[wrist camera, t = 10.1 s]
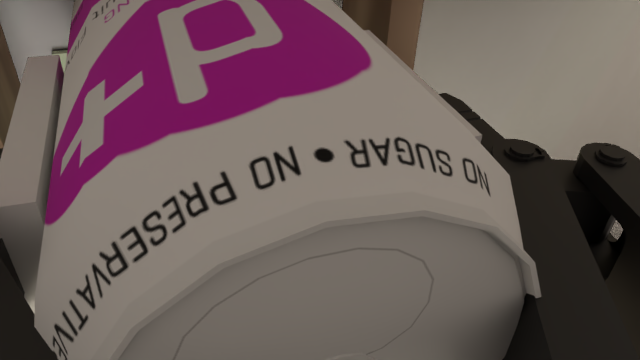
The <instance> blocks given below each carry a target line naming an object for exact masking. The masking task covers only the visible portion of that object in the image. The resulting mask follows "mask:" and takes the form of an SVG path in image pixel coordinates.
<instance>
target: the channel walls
mask: <svg viewBox="0 0 640 360" xmlns="http://www.w3.org/2000/svg"><path fill="white" fill-rule="evenodd" d="M423 2H424V0H343V9H342V10H343V11H344V12H345V13H346V14H347V15H348V16H349V17H350V18H351V19H352V20H353V21H354V22H355V23H356V24H357V25H358V26H360V27H361V28H362V29H363V30H370V31H371V32H372V33H373V34H374V35H375V36H376V37H377V38H378V39H379V40H380V41H382V42H383V43H384V44H385V45H386V46H387V47H388V48H389V49H390V50H391V51H392V52H393V53H394V54H396V55H397V56H398V57H399V58H400V59H401V60H402V61H403V62H404V63H405V64H406V65H407V66H408V67H410V68H411V69H412V70H413V67H414V61H415V54H416V48H417V41H418V35H419V28H420V22H421V15H422V9H423ZM19 89H20V82H19V79H18V76H17V73H16V70H15V67H14V64H13V61H12V58H11V55H10V52H9V49H8V46H7V42H6V39H5V36H4V33H3V30H2V27H1V24H0V149H1V148H4V144H5V140H6V137H7V133H8V129H9V126H10V122H11V118H12V115H13V111H14V107H15V103H16V100H17V96H18V92H19Z"/></svg>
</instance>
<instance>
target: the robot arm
mask: <svg viewBox="0 0 640 360" xmlns="http://www.w3.org/2000/svg"><path fill="white" fill-rule="evenodd" d="M364 31H365V32H366V33H367V34H368V35H369V36H370V37H371V38H372V39H373V40H374V41H375V42H376V43H377V44H378V45H380V46H381V47H382V48H383V49H384V50H385V51H386V52H387V53H388V54H389V55H390V56H391V57H392V58H393V59H394V60H395V61H396V62H397V63H399V64H400V65H401V66H402V67H403V68H404V69H405V70H406V71H407V72H408V73H409V74H410V75H411V76H412V77H413V78H414V79H415V80H416V81H417V82H419V83H420V84H421V85H422V86H423V87H424V88H425V89H426V90H427V91H428V92H429V93H430V94H431V95H432V96H433V97H434V98H435V99H436V100H437V101H439V102H440V103H441V104H442V105H443V106H444V107H445V108H446V109H447V110H448V111H449V112H450V113H451V114H452V115H453V116H454V117H455V118H456V119H458V120H459V121H460V122H461V123H462V124H463V125H464V126H465V127H466V128H467V129H468V130H469V131H470V132H471V133H472V135H473V136H474V137H475V138H476V139H477V140H478V141H479V142H480V143H481V144H482V145H483V147H484V148H485V149H486V150H487V151H488V152H489V153H490V154H491V155H492V156H493V158H494V159H495V160H496V161H497V162H498V163H499V164H500V165H501V166H502V167H503V169H504V170H505V171H506V172H507V173H508V174H509V175H510V180H511V185H512V190H513V195H514V200H515V205H516V210H517V215H518V220H519V225H520V231H521V237H522V243H523V249H524V251H525V252H526V253H527V254H528V255H529V256H530V257H531V258H532V259H533V261H534V262H535V264H536V270H537V275H538V281H539V286H540V292H541V297H539V298H535V296H534V295H531V294H528V293H526V295H525V297H524V305H523V308H522V311H521V315H520V318H519V322H518V325H517V327H516V330H515V332H514V335H513V337H512V340H511V342H510V345H509V348H508V350H507V353H506V355H505V357H504V358H503V359H502V360H640V160H639V159H638V158H637V157H636V156H634V155H633V154H632V153H630V152H629V151H627V150H624V149H622V148H620V147H619V146H616V145H613V144H612V145H611V144H608V143H591V144H586V145H585V146H583V147H582V148H581V150H580V153H579V155H578V158H577V160H576V161H573V160H554V159H550V156H549V155H548V154H547V153H546V151H545V150H543V149H542V148H540V147H539V146H537V145H535V144H533V143H530V142H527V141H523V140H518V139H504V138H503V137H502V136H501V135H500V134H499V133H498V132H496V131H495V130H494V129H493V128H492V127H491V126H490V125H489V124H487V123H486V122H485V121H484V120H483V119H480V116H478V115H477V114H476V113H475V112H472V109H470V108H469V107H468V106H467V105H466V104H465V103H464V102H463V101H461V100H459V99H457V98H455V97H453V96H451V95H449V94H447V93H442V94H438V93H436V92H435V91H434V90H433V89H432V88H431V87H430V86H429V85H428V84H427V83H426V82H425V81H424V80H422V79H421V78H420V77H419V76H418V75H417V74H416V73H415V72H414V71H413V70H412V69H411V68H410V67H408V66H407V65H406V64H405V63H404V62H403V61H402V60H401V59H400V58H399V57H398V56H397V55H396V54H394V53H393V52H392V51H391V50H390V49H389V48H388V47H387V46H386V45H385V44H384V43H383V42H382V41H380V40H379V39H378V38H377V37H376V36H375V35H374V34H373V33H372V32H371V31H370V30H364ZM63 81H64V72H63V68H62V64H61V60H60V56H59V55H51V56H38V57H28V59H27V63H26V67H25V70H24V74H23V78H22V81H21V85H20V89H19V92H18V96H17V100H16V103H15V107H14V111H13V115H12V118H11V122H10V126H9V129H8V133H7V137H6V140H5V144H4V148H1V149H0V360H58V358H57V357H56V356H55V354H54V353H53V351H52V350H51V349H50V347H49V346H48V345H47V343H46V342H45V340H44V339H43V338H42V336H41V335H40V334H39V332H38V331H37V329H36V328H35V327H34V317H35V292H36V284H37V277H38V269H39V262H40V254H41V247H42V239H43V231H44V224H45V216H46V209H47V201H48V194H49V186H50V179H51V171H52V164H53V156H54V149H55V141H56V133H57V126H58V118H59V111H60V103H61V96H62V88H63ZM615 220H617V221H618V222H619V223H620V225H621V226H622V228H623V232H622V234H621V236H620V238H619V239H618V240H616V239H615V238H614V237H613V236H612V235H611V233H610V231H611V229H612V227H613V225H614V223H615Z"/></svg>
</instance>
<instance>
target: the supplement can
mask: <svg viewBox="0 0 640 360" xmlns="http://www.w3.org/2000/svg"><path fill="white" fill-rule="evenodd" d="M526 293H528V294H531V295H534V296H535V298H539V297H541V292H540V286H539V281H538V275H537V270H536V264H535V262H534V261H533V259H532V258H531V257H530V256H529V255H528V254H527V253H526V252H525V251H524V249H523V243H522V237H521V231H520V225H519V220H518V215H517V210H516V205H515V200H514V195H513V190H512V185H511V180H510V175H509V174H508V173H507V172H506V171H505V170H504V169H503V167H502V166H501V165H500V164H499V163H498V162H497V161H496V160H495V159H494V158H493V156H492V155H491V154H490V153H489V152H488V151H487V150H486V149H485V148H484V147H483V145H482V144H481V143H480V142H479V141H478V140H477V139H476V138H475V137H474V136H473V135H472V133H471V132H470V131H469V130H468V129H467V128H466V127H465V126H464V125H463V124H462V123H461V122H460V121H459V120H458V119H456V118H455V117H454V116H453V115H452V114H451V113H450V112H449V111H448V110H447V109H446V108H445V107H444V106H443V105H442V104H441V103H440V102H439V101H437V100H436V99H435V98H434V97H433V96H432V95H431V94H430V93H429V92H428V91H427V90H426V89H425V88H424V87H423V86H422V85H421V84H420V83H419V82H417V81H416V80H415V79H414V78H413V77H412V76H411V75H410V74H409V73H408V72H407V71H406V70H405V69H404V68H403V67H402V66H401V65H400V64H399V63H397V62H396V61H395V60H394V59H393V58H392V57H391V56H390V55H389V54H388V53H387V52H386V51H385V50H384V49H383V48H382V47H381V46H380V45H378V44H377V43H376V42H375V41H374V40H373V39H372V38H371V37H370V36H369V35H368V34H367V33H366V32H365V31H364V30H363V29H362V28H361V27H360V26H358V25H357V24H356V23H355V22H354V21H353V20H352V19H351V18H350V17H349V16H348V15H347V14H346V13H345V12H344V11H343V10H342V9H341V8H339V7H338V6H337V5H336V4H335V3H334V2H333V1H332V0H74V5H73V13H72V20H71V28H70V35H69V43H68V50H67V58H66V66H65V73H64V81H63V88H62V96H61V103H60V111H59V118H58V126H57V133H56V141H55V149H54V156H53V164H52V171H51V179H50V186H49V194H48V201H47V209H46V216H45V224H44V231H43V239H42V247H41V254H40V262H39V269H38V277H37V284H36V292H35V317H34V327H35V328H36V329H37V331H38V332H39V334H40V335H41V336H42V338H43V339H44V340H45V342H46V343H47V345H48V346H49V347H50V349H51V350H52V351H53V353H54V354H55V356H56V357H57V358H58V360H502V359H503V358H504V357H505V355H506V353H507V350H508V348H509V345H510V342H511V340H512V337H513V335H514V332H515V330H516V327H517V325H518V322H519V318H520V315H521V311H522V308H523V305H524V297H525V295H526Z"/></svg>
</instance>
